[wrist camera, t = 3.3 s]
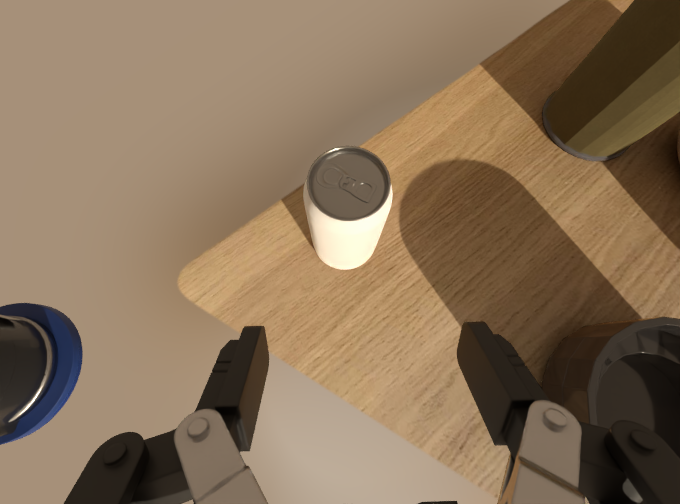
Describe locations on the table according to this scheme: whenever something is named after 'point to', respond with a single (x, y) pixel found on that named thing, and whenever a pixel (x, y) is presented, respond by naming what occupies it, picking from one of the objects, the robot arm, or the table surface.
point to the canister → (620, 85)
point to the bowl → (620, 375)
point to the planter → (678, 146)
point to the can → (347, 205)
